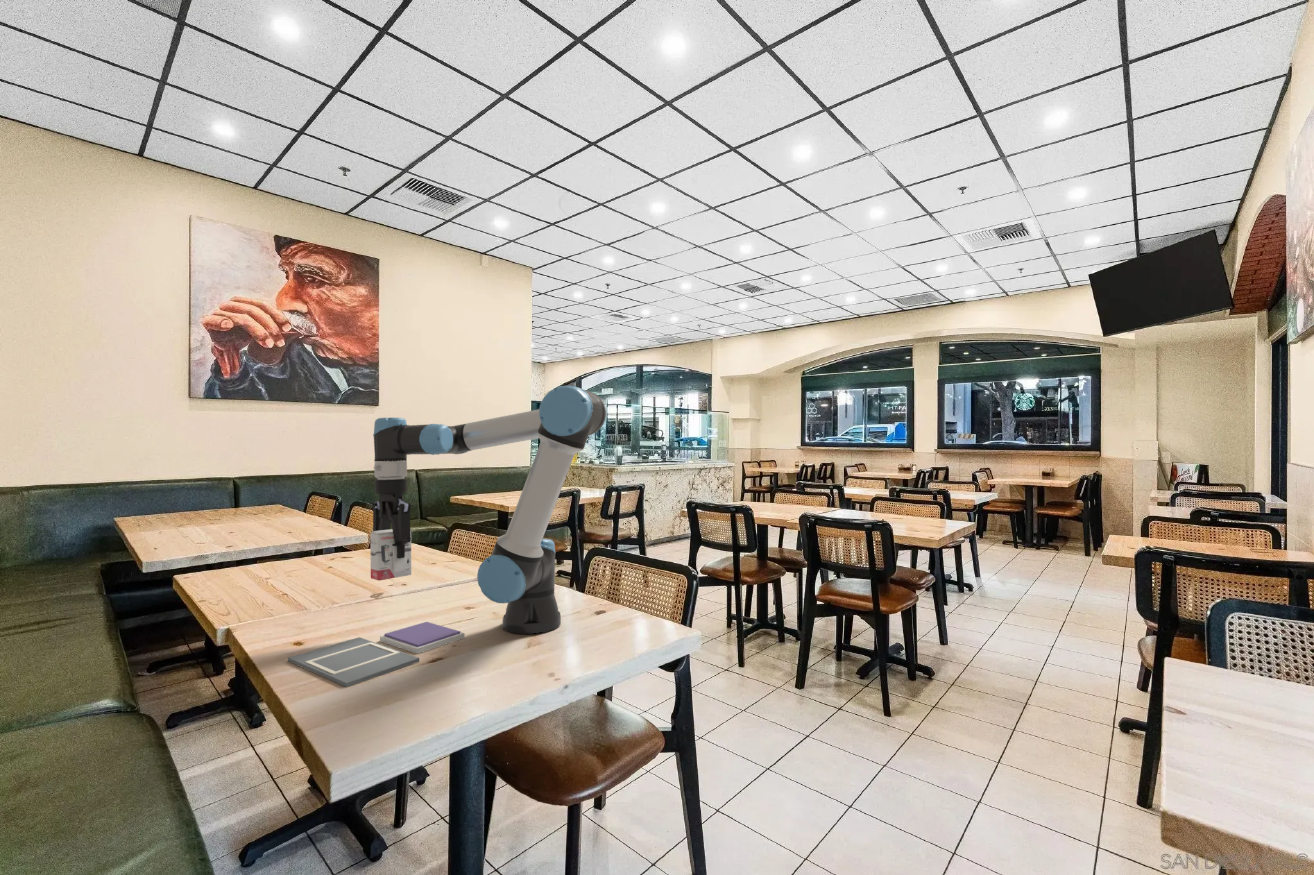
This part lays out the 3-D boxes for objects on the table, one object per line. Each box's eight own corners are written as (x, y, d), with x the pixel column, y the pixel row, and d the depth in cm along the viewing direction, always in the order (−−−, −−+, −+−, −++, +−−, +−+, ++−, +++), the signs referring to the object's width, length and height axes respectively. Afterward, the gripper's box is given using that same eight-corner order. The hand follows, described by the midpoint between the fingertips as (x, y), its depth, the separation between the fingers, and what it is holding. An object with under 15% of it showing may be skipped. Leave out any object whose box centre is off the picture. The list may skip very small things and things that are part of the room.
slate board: (419, 661, 125) (419, 656, 125) (346, 687, 111) (346, 682, 111) (359, 640, 138) (359, 636, 138) (287, 661, 124) (287, 656, 124)
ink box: (378, 581, 139) (377, 532, 139) (370, 579, 142) (369, 531, 142) (413, 575, 145) (412, 528, 145) (404, 573, 148) (403, 527, 149)
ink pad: (464, 637, 140) (464, 631, 140) (417, 653, 129) (417, 646, 129) (427, 627, 148) (427, 620, 148) (379, 641, 137) (379, 634, 137)
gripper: (356, 478, 146) (357, 568, 146) (398, 479, 136) (399, 576, 135) (384, 477, 152) (385, 563, 152) (425, 477, 142) (427, 570, 142)
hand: (391, 569), depth 144 cm, fingers closed on ink box, 5 cm apart
